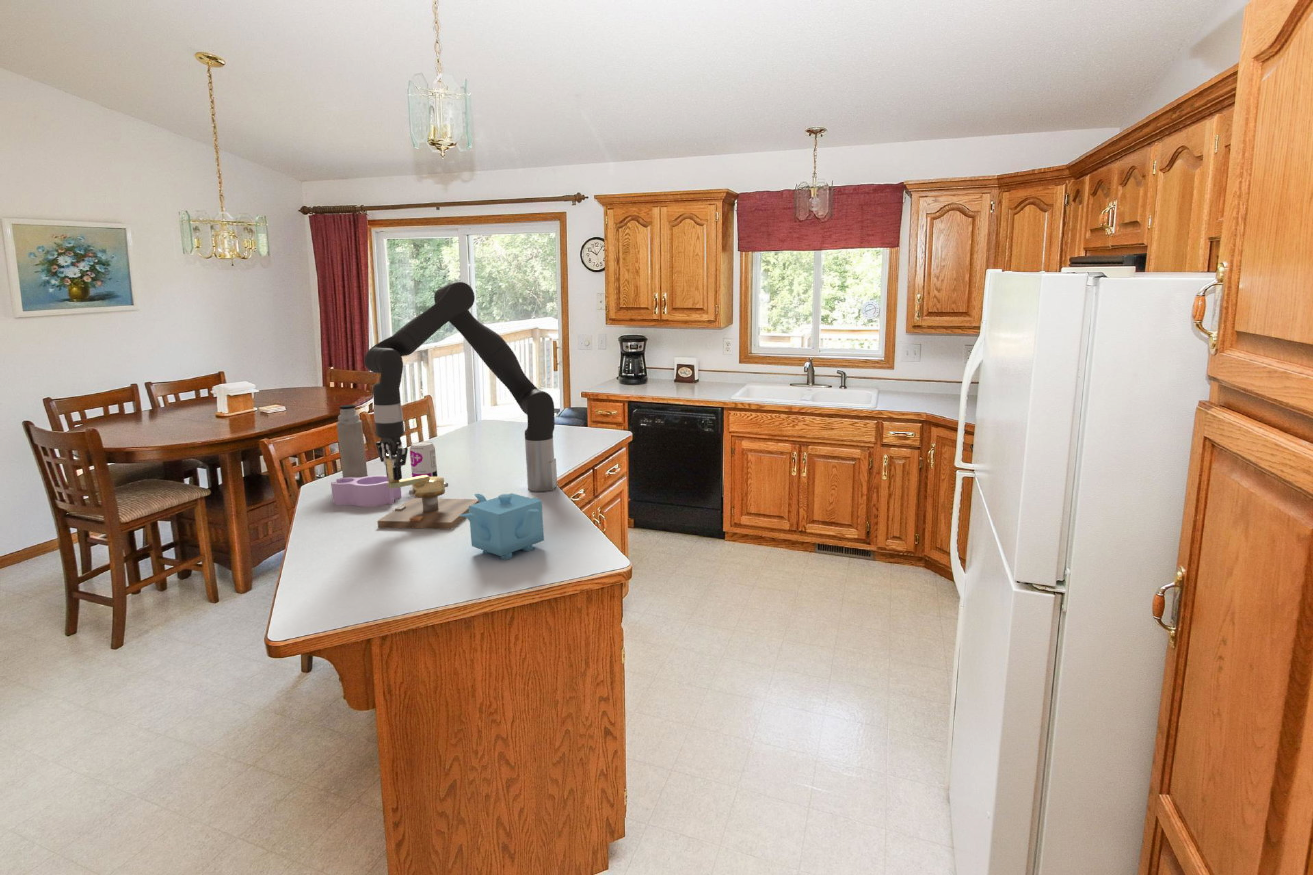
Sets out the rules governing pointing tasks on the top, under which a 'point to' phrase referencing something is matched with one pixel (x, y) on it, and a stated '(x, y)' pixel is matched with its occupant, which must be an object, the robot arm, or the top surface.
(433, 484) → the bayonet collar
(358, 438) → the thermos bottle
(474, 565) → the top surface
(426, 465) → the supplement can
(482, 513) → the teakettle
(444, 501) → the walnut base
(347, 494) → the lavender double cup holder
